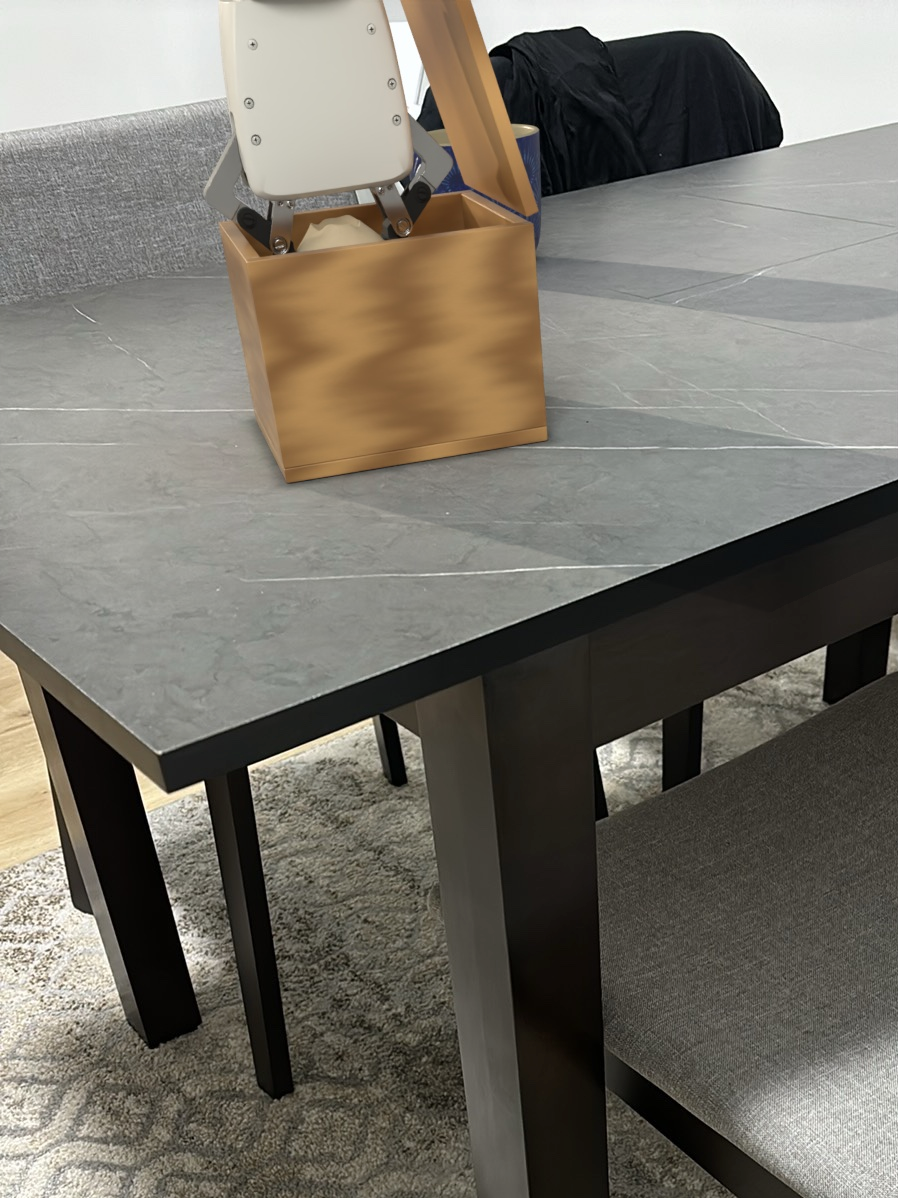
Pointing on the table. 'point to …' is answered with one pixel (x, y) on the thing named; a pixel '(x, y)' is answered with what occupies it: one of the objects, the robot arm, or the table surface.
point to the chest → (392, 338)
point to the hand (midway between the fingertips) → (350, 309)
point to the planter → (454, 182)
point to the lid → (470, 100)
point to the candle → (337, 234)
